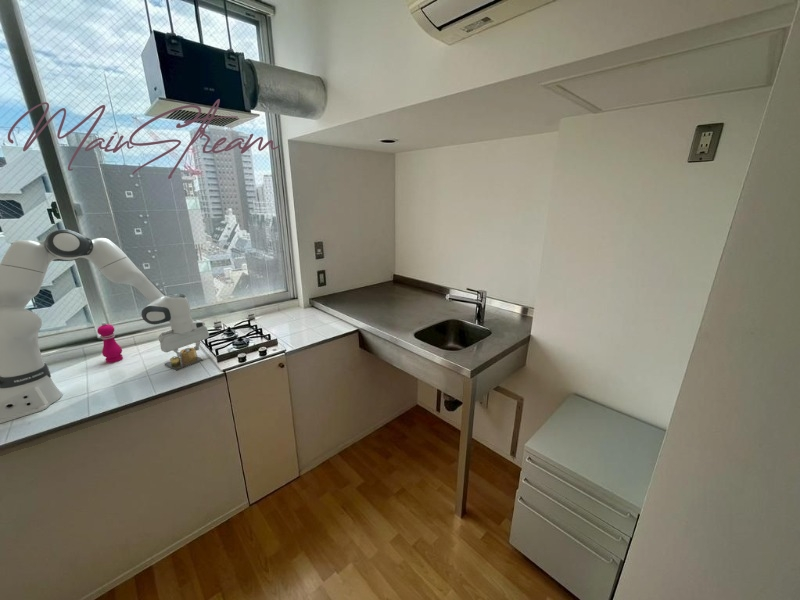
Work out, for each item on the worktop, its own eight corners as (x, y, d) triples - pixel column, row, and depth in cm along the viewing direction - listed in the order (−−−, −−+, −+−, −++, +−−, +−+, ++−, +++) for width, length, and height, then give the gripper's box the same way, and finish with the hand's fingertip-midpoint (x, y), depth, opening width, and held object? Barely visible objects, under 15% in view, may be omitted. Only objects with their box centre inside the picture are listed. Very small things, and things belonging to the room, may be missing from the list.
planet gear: (186, 362, 150) (184, 354, 149) (179, 359, 153) (177, 351, 152) (199, 357, 155) (197, 349, 153) (192, 355, 158) (190, 346, 156)
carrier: (176, 371, 144) (173, 358, 142) (164, 365, 150) (161, 352, 148) (203, 360, 154) (200, 348, 152) (191, 355, 159) (188, 343, 158)
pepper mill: (112, 364, 151) (101, 325, 145) (100, 362, 152) (89, 324, 147) (128, 357, 158) (117, 319, 152) (116, 356, 159) (105, 318, 153)
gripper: (161, 335, 139) (167, 363, 143) (207, 321, 156) (212, 346, 160) (154, 332, 142) (161, 360, 146) (200, 319, 159) (206, 344, 163)
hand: (188, 353), depth 153 cm, fingers open, 6 cm apart
